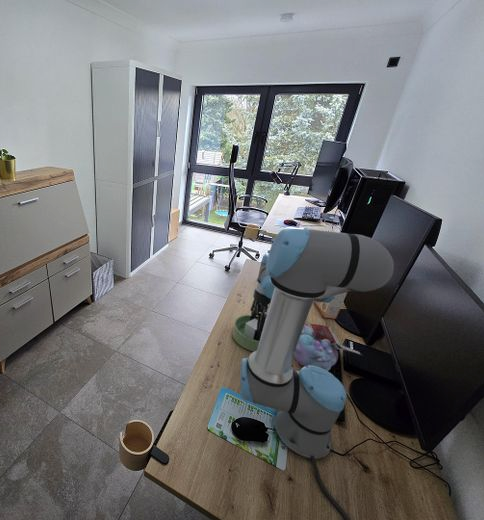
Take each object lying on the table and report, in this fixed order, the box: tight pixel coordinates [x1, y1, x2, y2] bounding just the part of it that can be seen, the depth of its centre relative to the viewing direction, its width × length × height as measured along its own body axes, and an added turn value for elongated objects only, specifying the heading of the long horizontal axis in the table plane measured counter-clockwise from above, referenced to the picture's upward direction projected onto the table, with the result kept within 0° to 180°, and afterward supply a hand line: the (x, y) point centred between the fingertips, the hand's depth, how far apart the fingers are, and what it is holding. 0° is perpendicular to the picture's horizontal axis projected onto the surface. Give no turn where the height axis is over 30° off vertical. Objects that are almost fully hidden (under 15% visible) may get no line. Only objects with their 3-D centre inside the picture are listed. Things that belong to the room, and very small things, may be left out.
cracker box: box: [313, 292, 348, 320], centre depth 139 cm, size 14×6×21 cm, turn 168°
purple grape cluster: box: [293, 322, 362, 372], centre depth 112 cm, size 20×22×18 cm
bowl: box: [231, 314, 259, 352], centre depth 123 cm, size 17×17×6 cm
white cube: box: [243, 319, 257, 339], centre depth 123 cm, size 6×6×6 cm
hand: (253, 335), depth 124 cm, fingers closed on white cube, 8 cm apart
